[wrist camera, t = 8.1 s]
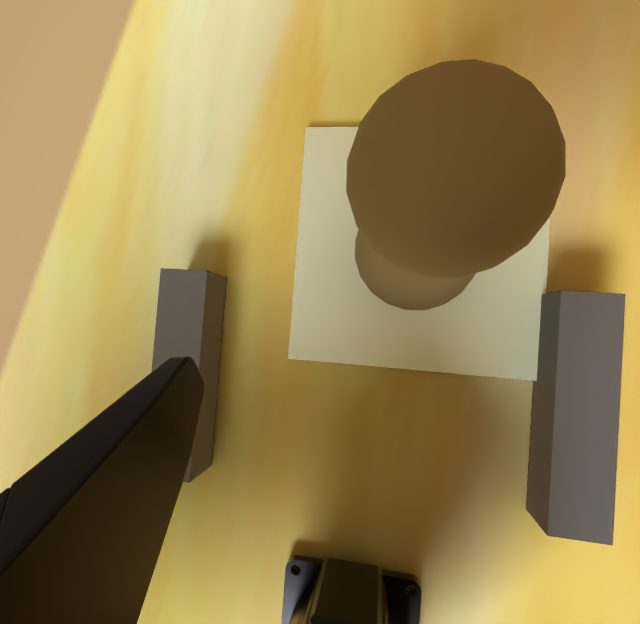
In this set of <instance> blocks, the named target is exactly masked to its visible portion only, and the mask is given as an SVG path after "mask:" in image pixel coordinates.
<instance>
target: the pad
mask: <svg viewBox="0 0 640 624" xmlns="http://www.w3.org/2000/svg"><path fill="white" fill-rule="evenodd" d="M358 128H359V127H306V132H305V145H304V158H303V171H302V184H301V197H300V210H299V223H298V235H297V248H296V261H295V274H294V287H293V300H292V313H291V326H290V339H289V352H288V359H297V360H308V361H320V362H331V363H342V364H353V365H364V366H375V367H386V368H397V369H408V370H419V371H430V372H442V373H453V374H464V375H475V376H486V377H497V378H508V379H519V380H530V381H537V367H538V350H539V332H540V315H541V297H542V295H543V294H546V291H547V273H548V256H549V238H550V220H551V215H550V217H549V219H548V220H547V221H546V223H545V224H544V225H543V226H542V228H541V229H540V230H539V231H538V233H537V234H536V235H535V237H534V238H533V239H532V240H531V242H530V243H529V244H528V245H527V246H526V247H524V248H523V249H521V250H520V251H518V252H517V253H515V254H514V255H513V256H511V257H510V258H508V259H507V260H505V261H504V262H502V263H501V264H499V265H497V266H495V267H493V268H491V269H488V270H484V271H481V272H478V273H476V274H475V276H474V278H473V279H472V280H471V281H470V283H469V284H468V285H467V287H466V288H465V289H464V290H463V292H462V293H461V294H459V295H458V296H456V297H455V298H454V299H452V300H451V301H449V302H448V303H446V304H445V305H441V306H438V307H435V308H431V309H428V310H404V309H401V308H398V307H395V306H392V305H389V304H387V303H385V302H384V301H383V300H381V299H380V298H378V297H377V296H376V295H374V294H373V293H372V292H371V291H370V290H369V288H368V287H367V285H366V284H365V283H364V281H363V280H362V278H361V277H360V274H359V271H358V267H357V264H356V261H355V240H356V236H357V233H358V228H357V225H356V222H355V219H354V216H353V212H352V209H351V206H350V203H349V199H348V196H347V193H346V176H347V159H348V156H349V153H350V150H351V148H352V145H353V142H354V139H355V136H356V133H357V130H358Z"/></svg>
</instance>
